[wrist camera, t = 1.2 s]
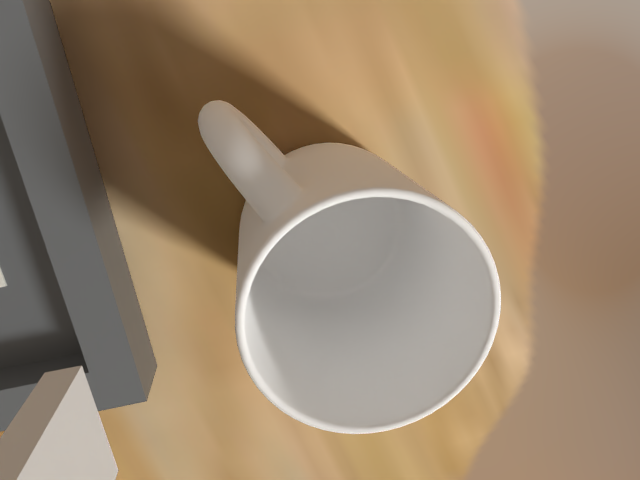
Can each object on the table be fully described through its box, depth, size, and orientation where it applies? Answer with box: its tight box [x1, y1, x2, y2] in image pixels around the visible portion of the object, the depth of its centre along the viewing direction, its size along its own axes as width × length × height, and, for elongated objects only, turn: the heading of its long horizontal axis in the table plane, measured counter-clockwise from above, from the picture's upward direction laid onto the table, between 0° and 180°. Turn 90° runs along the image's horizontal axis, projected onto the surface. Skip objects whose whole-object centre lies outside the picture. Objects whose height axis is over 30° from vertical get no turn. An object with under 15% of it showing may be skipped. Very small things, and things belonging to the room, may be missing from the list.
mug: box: [198, 100, 501, 434], centre depth 21 cm, size 12×8×10 cm
